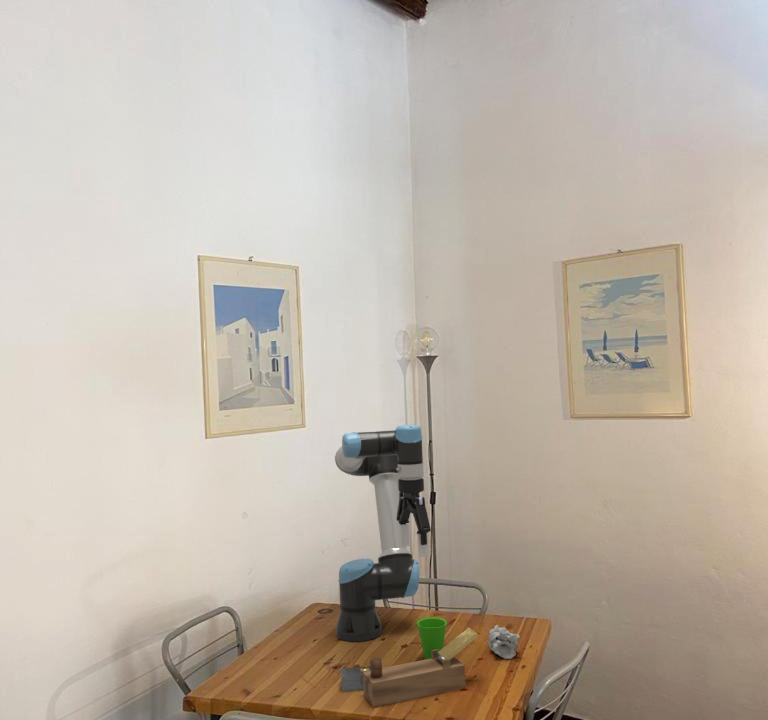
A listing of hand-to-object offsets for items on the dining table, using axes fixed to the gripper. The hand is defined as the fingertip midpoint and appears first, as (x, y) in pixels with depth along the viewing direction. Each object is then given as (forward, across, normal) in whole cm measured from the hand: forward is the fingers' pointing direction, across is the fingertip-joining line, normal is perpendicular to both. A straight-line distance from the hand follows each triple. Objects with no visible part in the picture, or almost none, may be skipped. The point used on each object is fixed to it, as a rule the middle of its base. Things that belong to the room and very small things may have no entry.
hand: (414, 551), depth 208 cm
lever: (+25, +16, 0) cm, 30 cm away
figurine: (+33, +4, +26) cm, 42 cm away
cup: (+33, -1, +5) cm, 33 cm away
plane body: (+33, +16, -8) cm, 37 cm away
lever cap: (+33, +6, -20) cm, 39 cm away
